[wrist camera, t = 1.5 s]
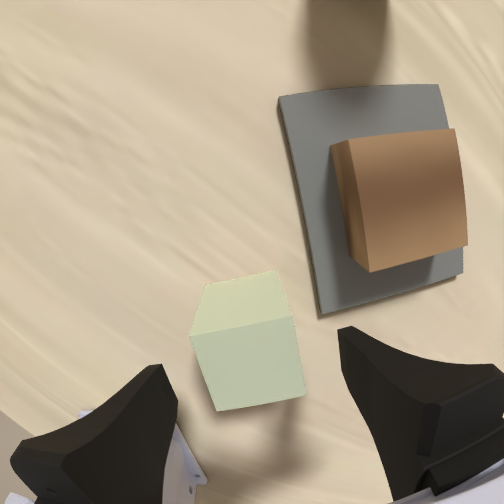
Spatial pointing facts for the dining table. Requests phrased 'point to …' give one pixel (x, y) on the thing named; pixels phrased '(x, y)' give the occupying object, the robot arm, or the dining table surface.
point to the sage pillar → (247, 342)
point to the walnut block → (401, 196)
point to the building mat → (327, 193)
